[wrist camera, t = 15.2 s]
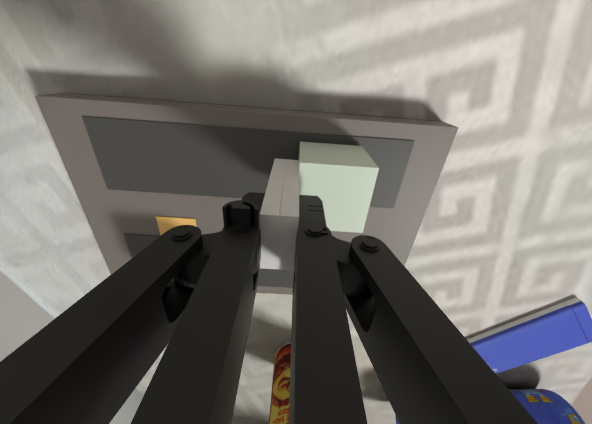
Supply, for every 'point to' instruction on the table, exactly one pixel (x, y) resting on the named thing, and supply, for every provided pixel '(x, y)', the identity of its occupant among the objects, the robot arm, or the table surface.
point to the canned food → (281, 386)
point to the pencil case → (545, 407)
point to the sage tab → (338, 182)
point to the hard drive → (535, 336)
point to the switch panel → (226, 166)
